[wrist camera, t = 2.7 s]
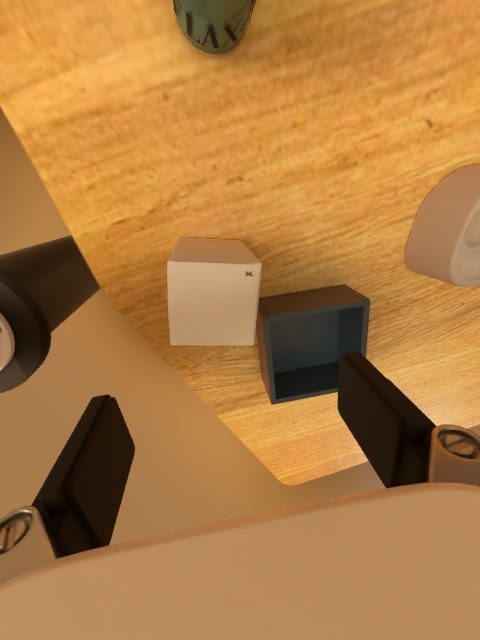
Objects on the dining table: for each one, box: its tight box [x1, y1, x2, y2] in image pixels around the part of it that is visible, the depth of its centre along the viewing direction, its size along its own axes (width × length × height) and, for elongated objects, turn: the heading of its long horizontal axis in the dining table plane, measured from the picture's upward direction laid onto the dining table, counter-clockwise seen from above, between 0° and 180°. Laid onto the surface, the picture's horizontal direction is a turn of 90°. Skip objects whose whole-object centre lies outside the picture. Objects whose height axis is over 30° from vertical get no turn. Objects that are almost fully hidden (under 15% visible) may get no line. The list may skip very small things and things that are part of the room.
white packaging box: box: [167, 237, 262, 346], centre depth 27 cm, size 7×7×13 cm
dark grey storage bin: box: [256, 285, 370, 405], centre depth 36 cm, size 12×12×6 cm
